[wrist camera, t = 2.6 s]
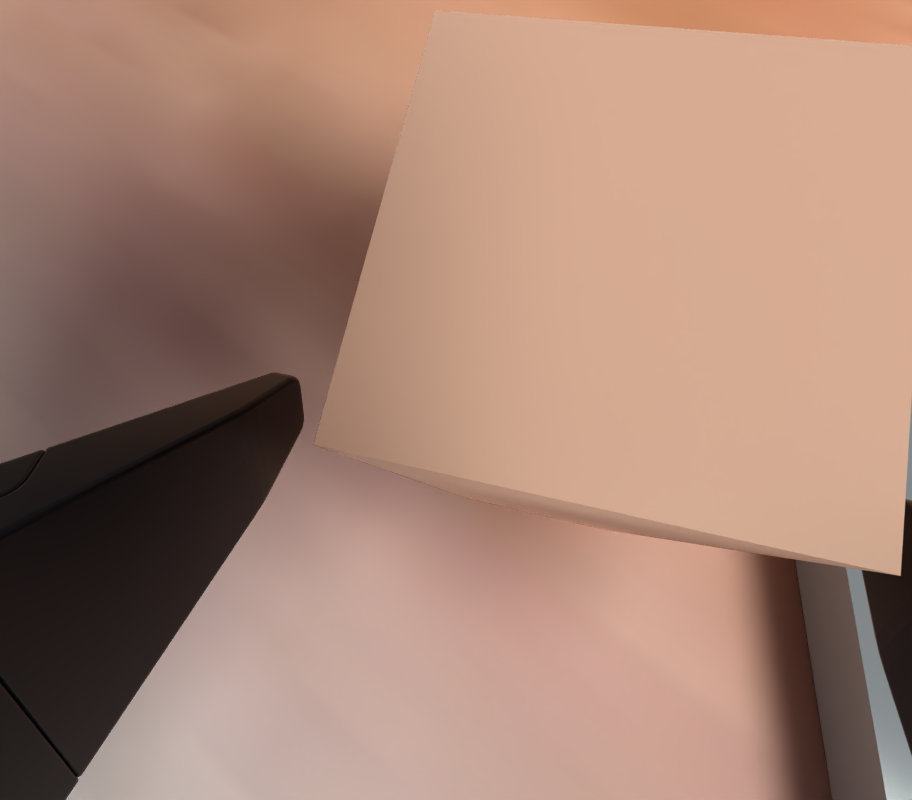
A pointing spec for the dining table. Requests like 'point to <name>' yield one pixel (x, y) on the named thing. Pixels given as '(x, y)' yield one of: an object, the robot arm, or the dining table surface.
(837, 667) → the plate
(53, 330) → the dining table surface
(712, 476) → the block
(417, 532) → the dining table surface
